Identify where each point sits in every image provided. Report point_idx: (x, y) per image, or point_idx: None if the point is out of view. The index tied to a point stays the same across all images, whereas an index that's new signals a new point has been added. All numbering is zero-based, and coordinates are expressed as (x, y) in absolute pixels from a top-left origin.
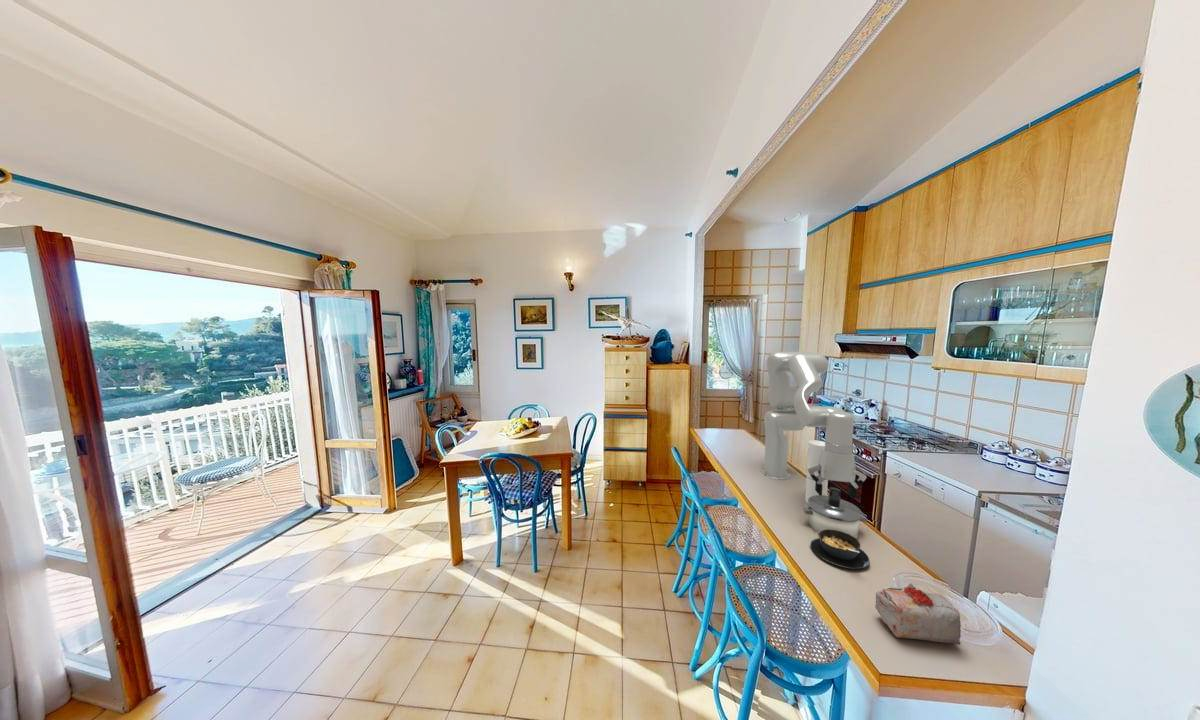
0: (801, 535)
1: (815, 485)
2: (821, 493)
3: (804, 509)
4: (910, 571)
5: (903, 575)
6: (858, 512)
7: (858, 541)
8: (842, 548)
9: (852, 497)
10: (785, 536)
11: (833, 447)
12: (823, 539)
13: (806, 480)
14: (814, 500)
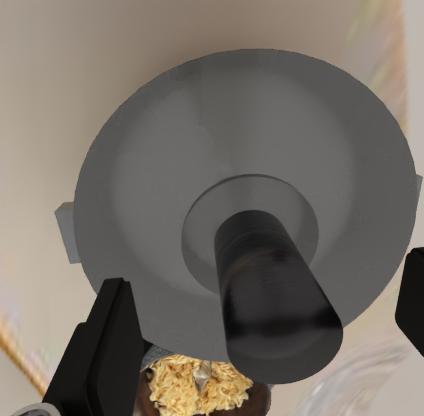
0: (86, 283)
1: (60, 363)
2: (137, 364)
3: (66, 246)
4: (387, 346)
5: (353, 369)
6: (379, 271)
7: (269, 398)
8: (213, 361)
9: (410, 332)
10: (25, 312)
11: None
12: (151, 367)
13: None
14: (121, 198)
